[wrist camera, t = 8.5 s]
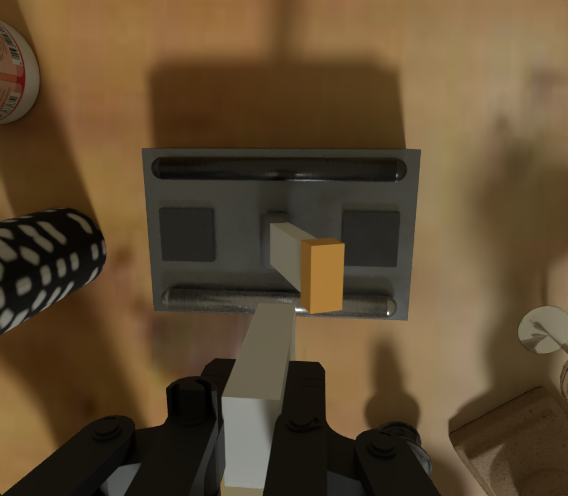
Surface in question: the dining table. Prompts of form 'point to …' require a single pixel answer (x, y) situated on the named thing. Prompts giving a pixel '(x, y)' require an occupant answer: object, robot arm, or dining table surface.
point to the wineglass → (547, 336)
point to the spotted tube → (45, 261)
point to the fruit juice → (16, 75)
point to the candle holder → (518, 447)
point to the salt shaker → (410, 442)
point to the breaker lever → (304, 261)
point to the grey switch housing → (304, 215)
